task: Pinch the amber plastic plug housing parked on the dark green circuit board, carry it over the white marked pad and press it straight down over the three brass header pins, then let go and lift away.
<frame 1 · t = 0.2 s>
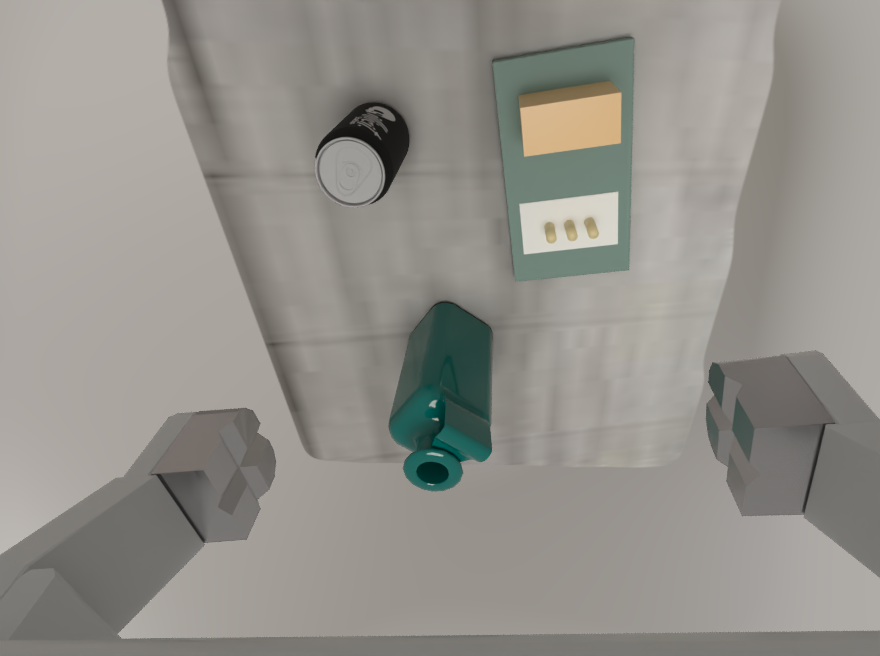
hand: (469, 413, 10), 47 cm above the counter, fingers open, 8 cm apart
plug housing: (564, 111, 49), point 1 cm above the counter, touching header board
beverage can: (377, 135, 54), on the counter
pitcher: (454, 332, 66), on the counter
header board: (565, 171, 54), on the counter
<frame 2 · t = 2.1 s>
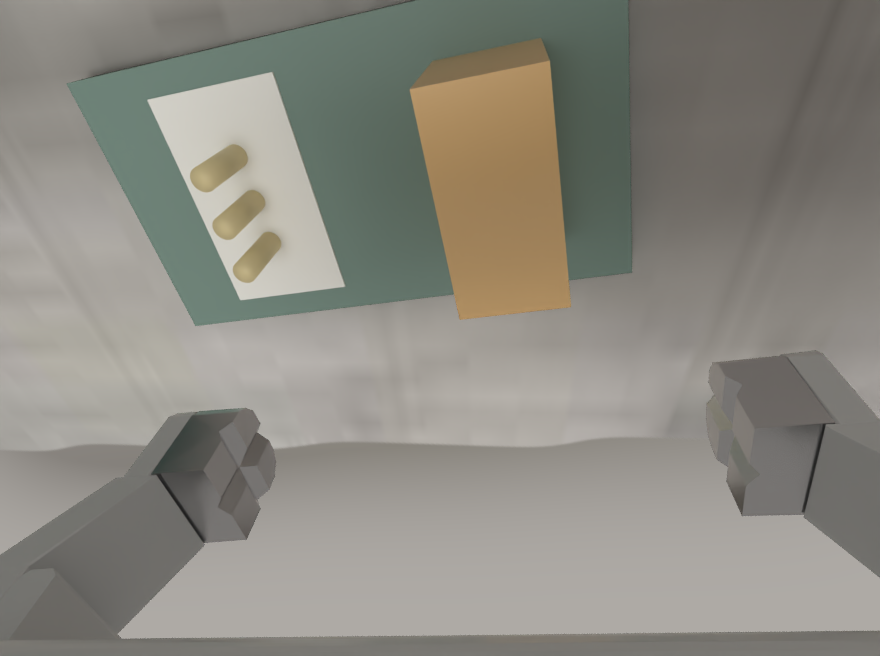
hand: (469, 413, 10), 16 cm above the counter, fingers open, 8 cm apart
plug housing: (501, 158, 22), point 1 cm above the counter, touching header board
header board: (368, 170, 24), on the counter
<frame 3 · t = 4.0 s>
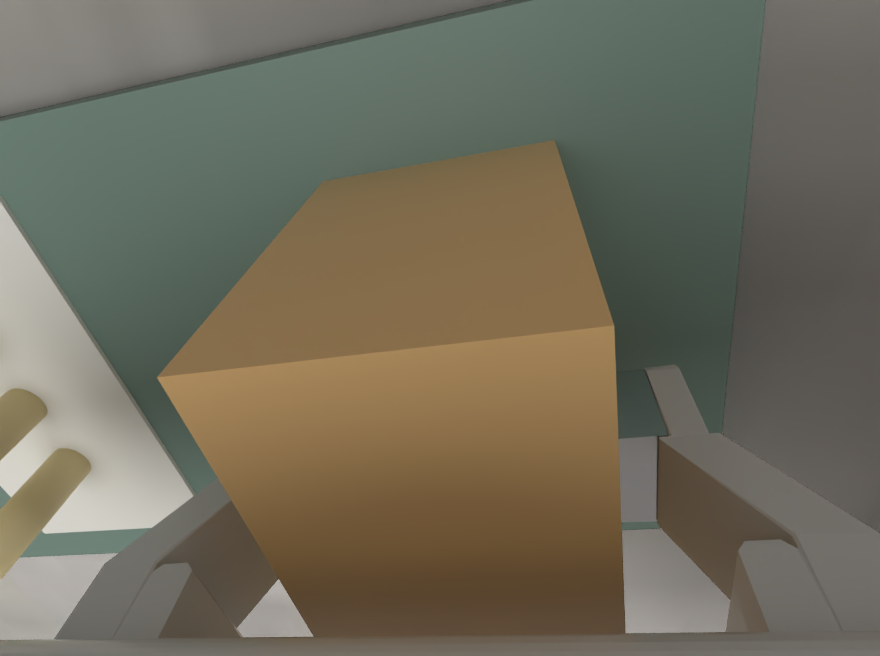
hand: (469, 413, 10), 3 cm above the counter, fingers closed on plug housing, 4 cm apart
plug housing: (473, 352, 11), point 1 cm above the counter, touching gripper, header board
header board: (239, 343, 14), on the counter
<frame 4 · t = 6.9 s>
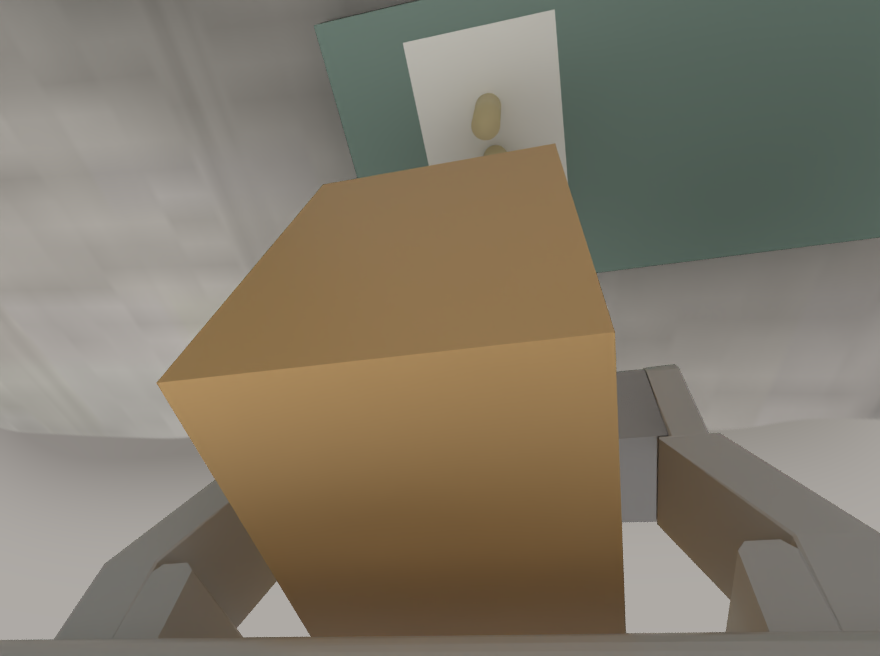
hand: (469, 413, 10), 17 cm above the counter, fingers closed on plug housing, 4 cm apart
plug housing: (473, 355, 11), point 15 cm above the counter, touching gripper
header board: (615, 125, 23), on the counter
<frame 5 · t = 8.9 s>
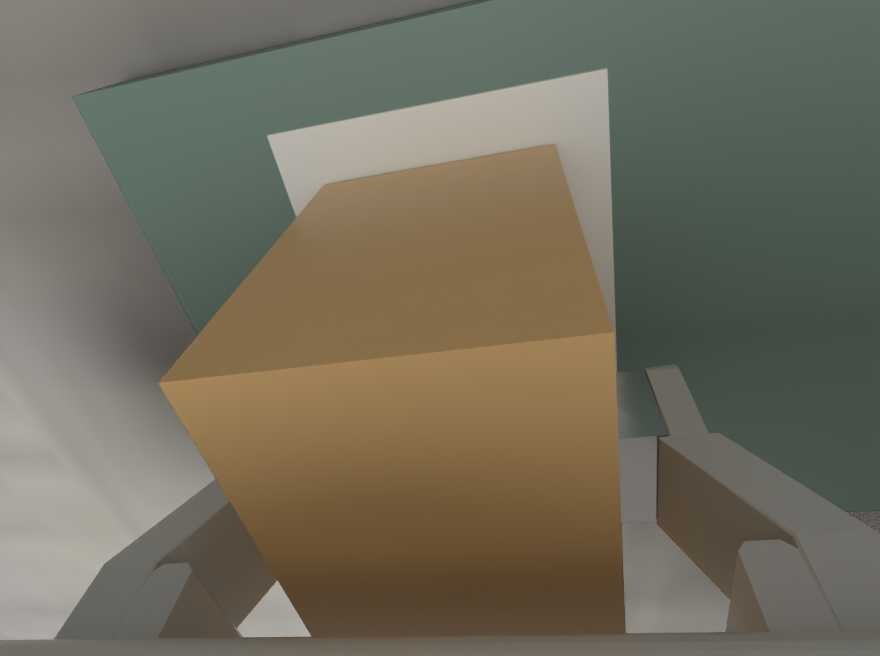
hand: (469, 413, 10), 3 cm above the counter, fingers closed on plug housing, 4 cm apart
plug housing: (473, 355, 11), point 2 cm above the counter, touching gripper
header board: (709, 278, 12), on the counter
when the fingers open (3 cm above the counter, at t = 10.0 s): plug housing stays where it is, resting on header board.
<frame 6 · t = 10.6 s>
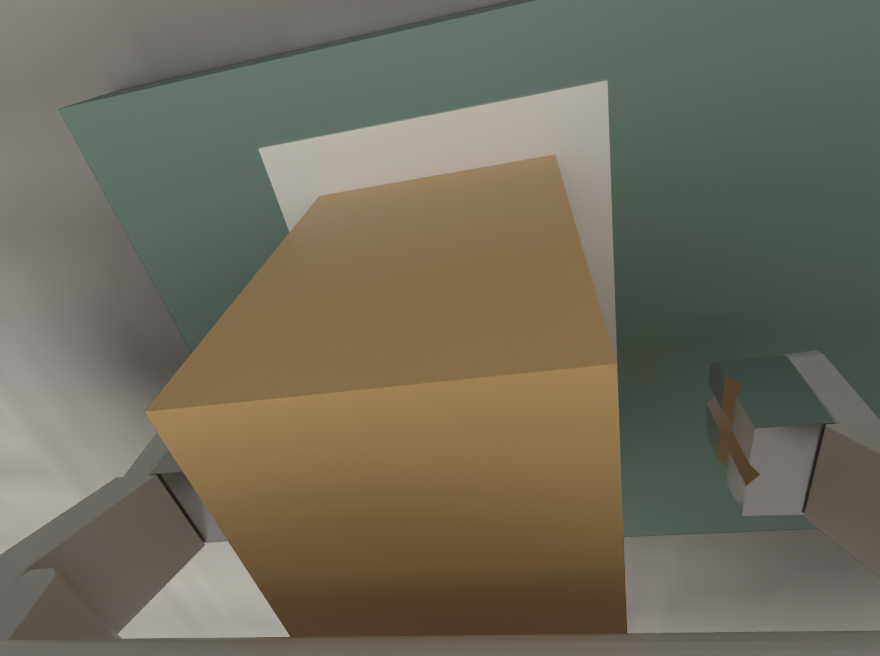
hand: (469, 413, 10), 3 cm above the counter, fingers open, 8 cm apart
plug housing: (473, 367, 11), point 2 cm above the counter, touching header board
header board: (711, 290, 11), on the counter
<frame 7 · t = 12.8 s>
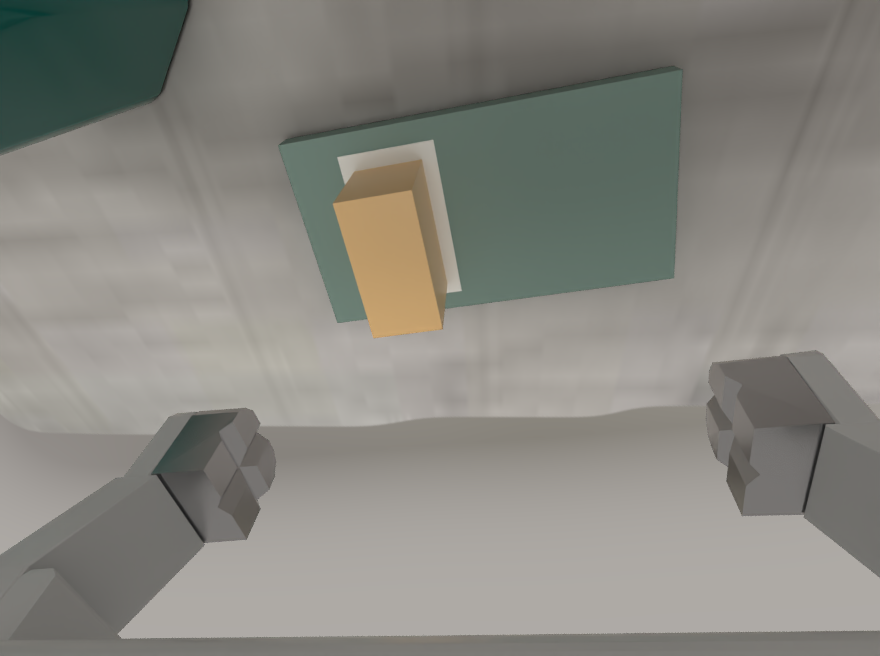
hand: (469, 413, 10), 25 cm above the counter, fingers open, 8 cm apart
plug housing: (403, 230, 33), point 2 cm above the counter, touching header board
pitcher: (116, 10, 29), on the counter
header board: (484, 206, 34), on the counter
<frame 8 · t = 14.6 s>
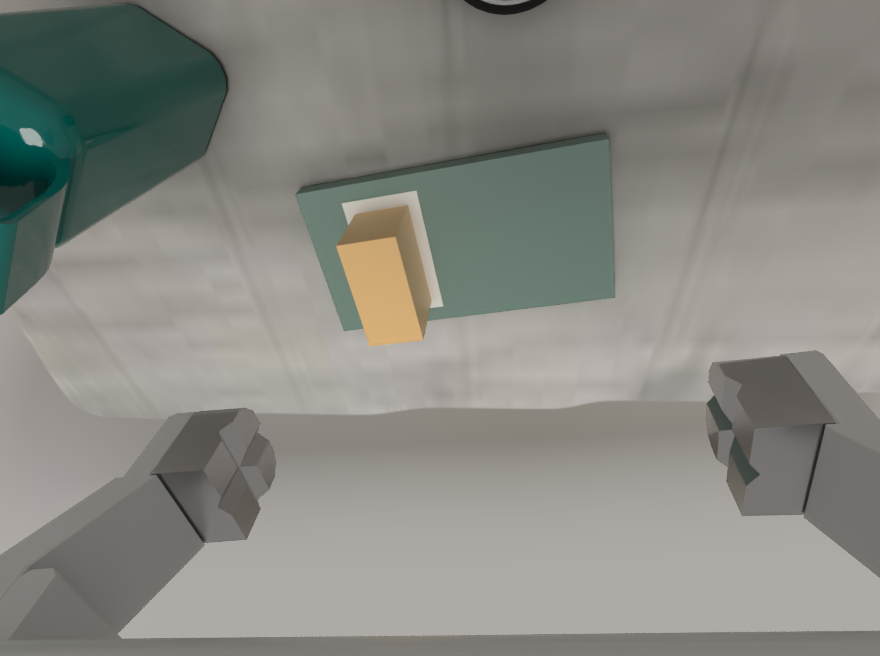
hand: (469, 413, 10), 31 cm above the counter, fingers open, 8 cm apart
plug housing: (395, 259, 41), point 2 cm above the counter, touching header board
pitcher: (171, 92, 38), on the counter
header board: (460, 239, 42), on the counter
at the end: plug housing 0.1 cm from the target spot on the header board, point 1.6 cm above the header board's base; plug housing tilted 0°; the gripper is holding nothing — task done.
